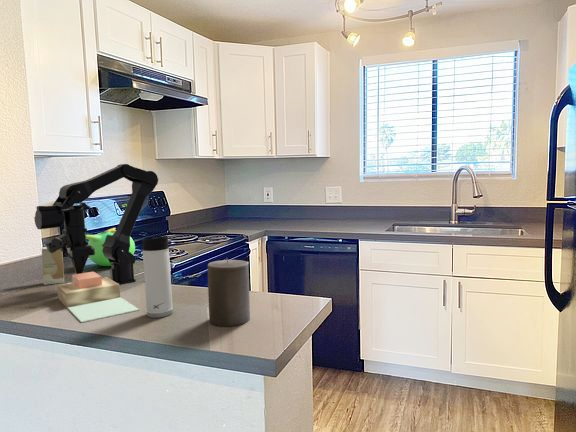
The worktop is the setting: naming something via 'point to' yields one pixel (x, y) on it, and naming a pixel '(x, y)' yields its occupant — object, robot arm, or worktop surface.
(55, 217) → the robot arm
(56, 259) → the skincare box
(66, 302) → the tan block
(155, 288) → the travel mug
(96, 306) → the mat
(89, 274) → the salmon pink block
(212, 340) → the worktop surface
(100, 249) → the toy bird
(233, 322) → the pillar candle
